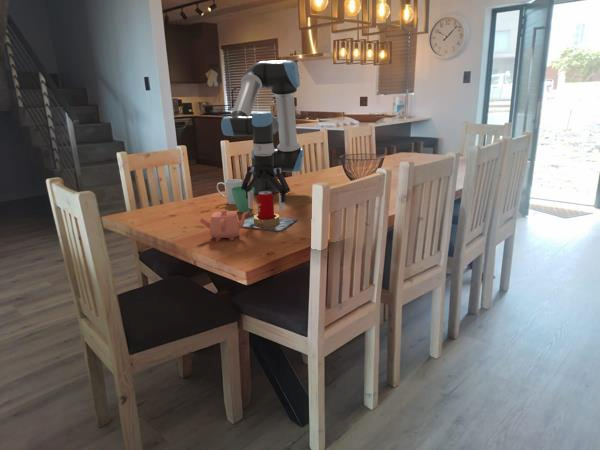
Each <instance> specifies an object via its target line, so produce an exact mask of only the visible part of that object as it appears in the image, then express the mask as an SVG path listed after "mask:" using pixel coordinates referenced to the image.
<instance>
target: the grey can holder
mask: <svg viewBox="0 0 600 450" xmlns="http://www.w3.org/2000/svg"><path fill="white" fill-rule="evenodd" d="M298 221H299V219H298V218H290V217H289V218H288V217H284V216H283V217H281V216H280V214H278V213H275V212H274V218H271V219H259V218H258V213H257V214H253V215H251V216H249V217H247V218H245V221H244V225H243V226H242V227H241V228H243V229H252V230H259V231H260V230H261V231H266V232H267V231H268V232H276V233H281V232H283V231H284V230H286V229H287V228H289V227H290V226H292V225H294V224H295V223H297V222H298Z"/></svg>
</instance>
